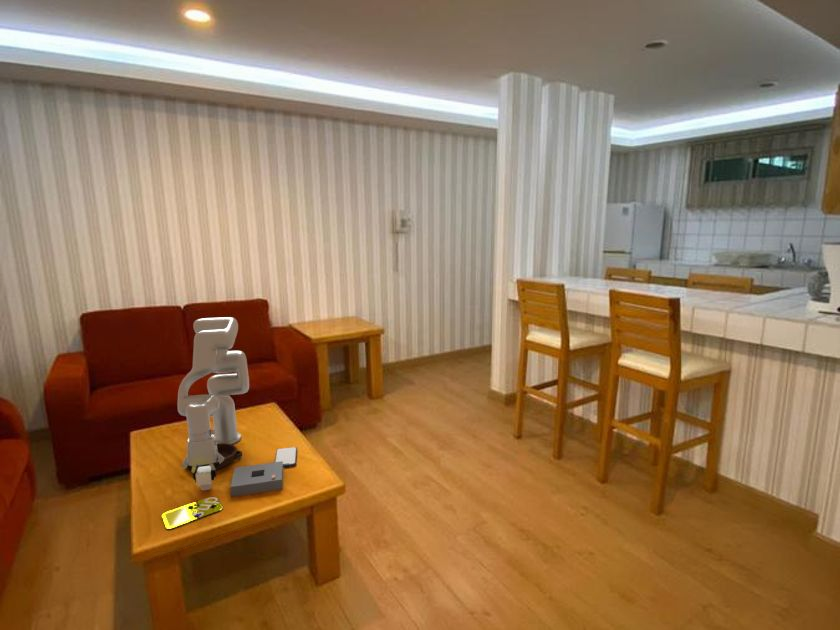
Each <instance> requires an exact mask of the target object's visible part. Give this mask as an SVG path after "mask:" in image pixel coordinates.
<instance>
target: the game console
mask: <svg viewBox="0 0 840 630" xmlns="http://www.w3.org/2000/svg"><path fill="white" fill-rule="evenodd" d="M223 510H224V506H223V505H222V503H221V501H220V499H218V498H217V497H214V496H213V497H211V496H210V497H205V498H203V499H200V500H198V501H194V502H192V503H188V504H185V505H183V506H182V505H181V506H180V507H178V508H177V507H176V508H174V509H171V510H168V511H166V512H163V513H162V514H161V519H162V521H163V524H164V527H165V530H167V531H172V530H174V529H177V528H180V527H183V526H185V525H188V524H191V523H193V522H196V521H200V520H201V519H204V518H206V517H210V516H212V515H215V514H217V513H220V512H222V511H223Z"/></svg>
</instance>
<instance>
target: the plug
mask: <svg viewBox="0 0 840 630" xmlns="http://www.w3.org/2000/svg"><path fill="white" fill-rule="evenodd" d="M212 483H213V480H212V478H211V466H203V467H198V470H197V472H196V486H198V487H199V486H200V490H201V491H209V490H211V487H212Z"/></svg>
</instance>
